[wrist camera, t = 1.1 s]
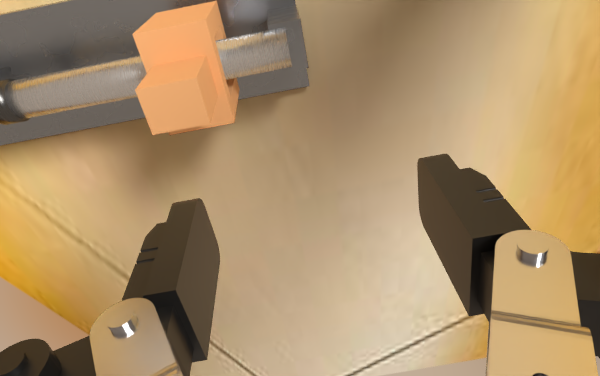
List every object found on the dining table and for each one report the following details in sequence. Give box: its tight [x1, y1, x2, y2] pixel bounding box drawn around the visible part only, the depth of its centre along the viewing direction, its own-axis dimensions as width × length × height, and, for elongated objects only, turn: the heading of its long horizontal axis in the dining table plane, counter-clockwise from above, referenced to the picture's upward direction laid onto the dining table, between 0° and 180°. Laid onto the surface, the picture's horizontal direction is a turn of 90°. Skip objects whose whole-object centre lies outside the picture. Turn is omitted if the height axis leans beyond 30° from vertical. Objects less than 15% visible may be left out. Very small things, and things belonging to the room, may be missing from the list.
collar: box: [132, 1, 240, 135], centre depth 26 cm, size 4×6×10 cm, turn 10°
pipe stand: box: [0, 0, 309, 145], centre depth 30 cm, size 26×9×7 cm, turn 100°
